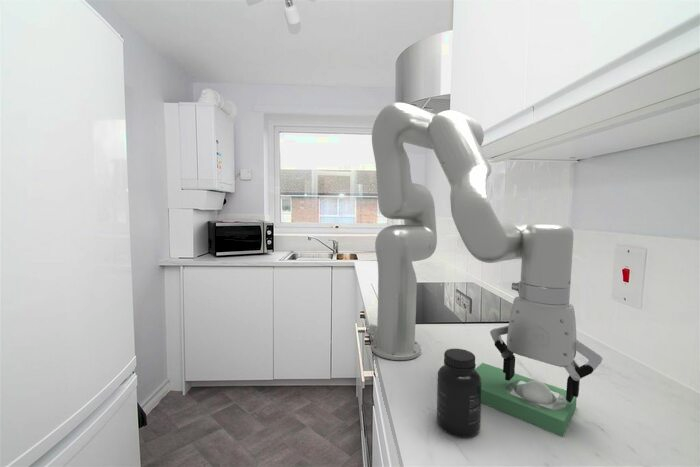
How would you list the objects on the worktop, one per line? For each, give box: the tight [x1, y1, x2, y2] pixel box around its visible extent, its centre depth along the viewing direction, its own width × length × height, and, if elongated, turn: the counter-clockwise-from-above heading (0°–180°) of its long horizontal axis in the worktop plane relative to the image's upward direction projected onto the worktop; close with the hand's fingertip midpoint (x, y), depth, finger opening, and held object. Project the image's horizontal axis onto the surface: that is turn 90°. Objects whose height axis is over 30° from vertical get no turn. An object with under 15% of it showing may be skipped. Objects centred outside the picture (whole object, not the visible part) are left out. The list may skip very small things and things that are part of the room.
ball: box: [522, 379, 553, 405], centre depth 59 cm, size 5×5×5 cm
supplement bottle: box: [436, 348, 482, 438], centre depth 53 cm, size 7×7×12 cm
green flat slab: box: [475, 362, 578, 437], centre depth 61 cm, size 17×11×2 cm, turn 47°
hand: (538, 387), depth 58 cm, fingers open, 9 cm apart
